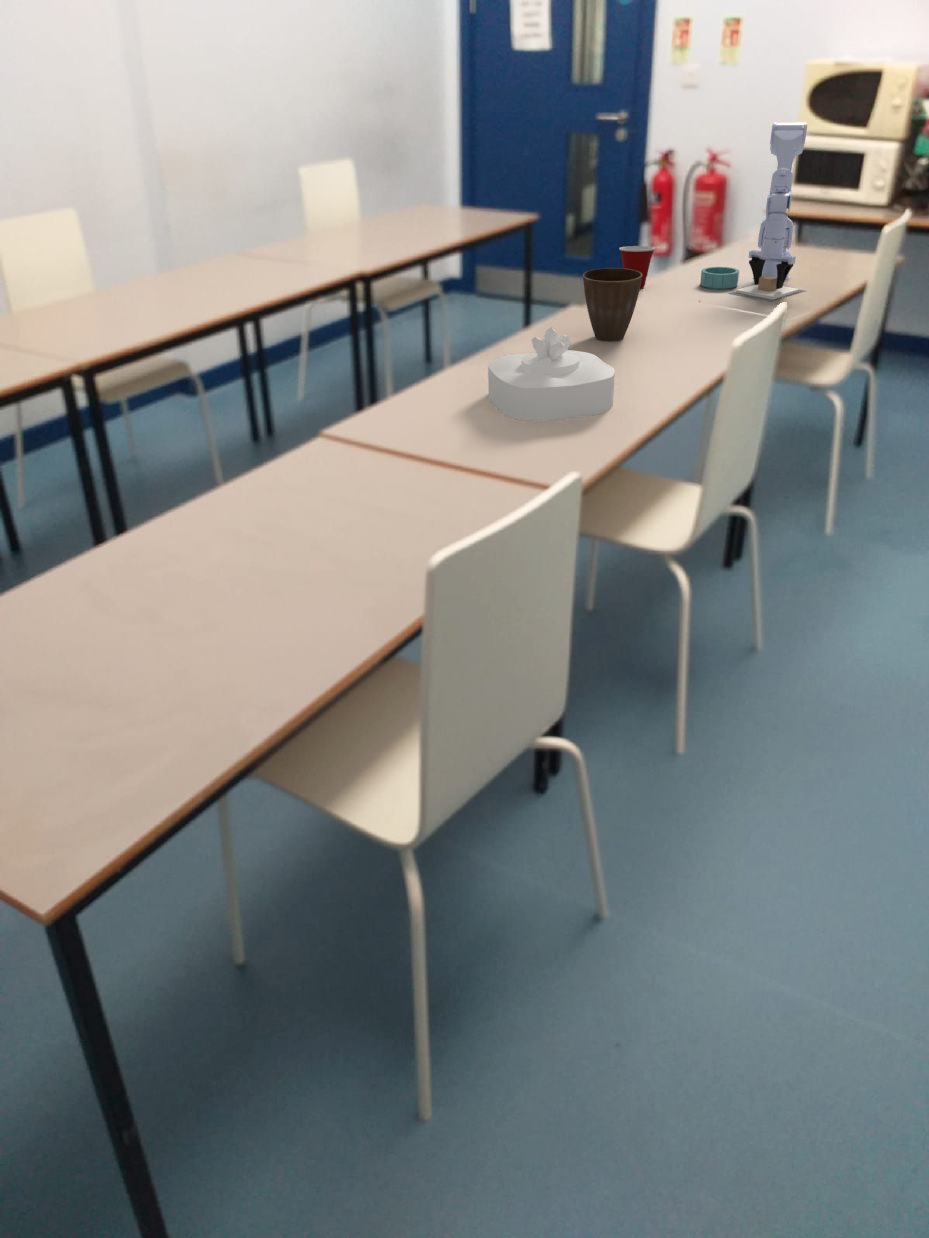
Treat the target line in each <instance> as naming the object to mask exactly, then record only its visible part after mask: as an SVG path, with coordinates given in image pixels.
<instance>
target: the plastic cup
mask: <svg viewBox="0 0 929 1238" xmlns="http://www.w3.org/2000/svg"><path fill="white" fill-rule="evenodd" d="M655 250H656V247H654V246H647V245H643V246H642V245H633V246H632V245H631V246H629V245H628V246H622V247H619V251H620V254H621V255H620V256H621V261H622V268H624V269H632V270H636V271H639V272H641V273H642V280H641V285H640V290H641V289H645V288H644V287H645V285H646V282H647V277H648V273H649V269H650V264H651V260H652V257H653V254H654V251H655Z"/></svg>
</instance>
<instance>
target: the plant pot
mask: <svg viewBox="0 0 929 1238" xmlns="http://www.w3.org/2000/svg"><path fill="white" fill-rule="evenodd" d="M582 280H583V289H584V297H585V303H586V308H587V313H588V317H589V321H590V325H591V329H592V332H593V334H594V337H595V339H597V340H599V341H601V342H602V341H603V342H618V341H621V340H623V339H624V338H625V336H626V333H627V331H628V328H629V326H630V323H631V320H632V317H633V315H634V312H635V309H636V307H637V301H638V297H639V293H640V290H641V289H640V285H641V280H642V273H641V272H639V271H636V270H632V269H624V268H623V267H622V268H621V267H620V268H619V267H605V268H596V269H590V270H587V271H585V272H584V273H583V274H582Z"/></svg>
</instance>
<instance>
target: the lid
mask: <svg viewBox="0 0 929 1238" xmlns="http://www.w3.org/2000/svg"><path fill="white" fill-rule="evenodd" d="M776 283H777V277H775V276H769V275H766V276H763V277H759V284H758V285H754V284H752V285H749V286H745V287H742V288H739V289H735V291H736V293H740V294H746V295H751V296H756V297H762V298H767V299H772V300H774V299H777V298H780V297H784V296H787V295H790V294H793V293H797V292H799V290H800V288H796V287H790V286H784V285H783V287H782V288H780V289H776Z"/></svg>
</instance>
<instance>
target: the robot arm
mask: <svg viewBox="0 0 929 1238" xmlns="http://www.w3.org/2000/svg"><path fill="white" fill-rule="evenodd" d="M807 130H808V123H807V121H804V122H774V123H773V124H772V126H771V133H770V141H769V142H770V143H769V144H770V149H769V150H770V154H771V155H773V156H775V157H776V161H777V166H776V170H775V171H774V172H773V173H772V176H771V180H770V181H771V182H770V188H769V189H770V190H769V194H768V195H767V198H766V205H765V206H766V207H765V219H763V220H762V221H761V223H760V228H759V233H758V240H757V247H758V248H759V249H761V250H754V249H752V250H749V252H748V259H749V260H748V265H749V267H750V269H751V273H752V275H753V276H752V280H753V285H758V284H759V277H763V276H766V275H769V276H775V277H777V283H776V289H780V288H782V287H783V286H784V283H785V280H787V279H790V278H792V277H791V276H789V275H790V271H791V270H792V268H793V267H794V264H796V257H797V256H795V255H791V253H790V250H789V249H790V248H791V247H792V238H793V232H794V223H793V220H791V219H790V218H789V217H788V215H789V214H790V212H791V211H790V210H791V206H792V205H791V203H792V185H793V184H792V183H793V179H794V175H793V171H792V169H793V163H794V161H795V159H796V157H797V156H799V155H801V154H803V151H804V149H805V144H806V137H807Z"/></svg>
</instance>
